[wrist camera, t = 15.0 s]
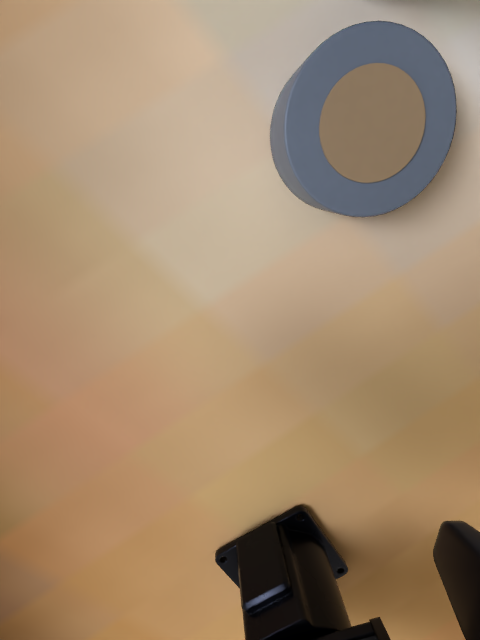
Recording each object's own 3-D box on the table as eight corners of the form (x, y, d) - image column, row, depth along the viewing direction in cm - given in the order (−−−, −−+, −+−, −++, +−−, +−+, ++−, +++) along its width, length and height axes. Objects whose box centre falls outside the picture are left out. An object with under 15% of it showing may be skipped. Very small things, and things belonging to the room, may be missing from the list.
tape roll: (436, 161, 19) (483, 157, 16) (313, 238, 19) (334, 249, 16) (378, 13, 16) (419, -25, 13) (241, 106, 17) (250, 89, 14)
